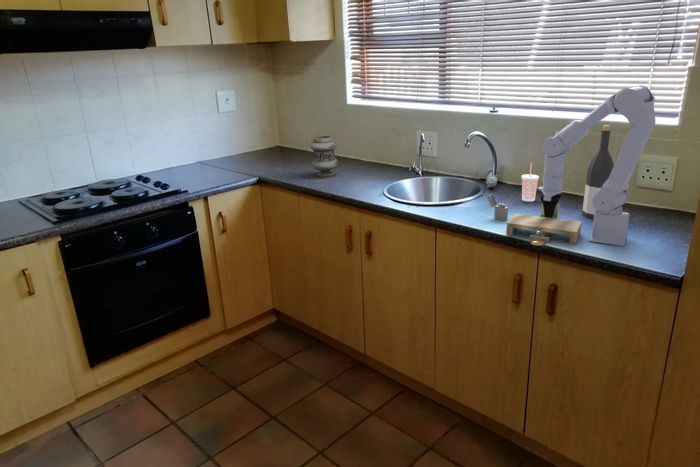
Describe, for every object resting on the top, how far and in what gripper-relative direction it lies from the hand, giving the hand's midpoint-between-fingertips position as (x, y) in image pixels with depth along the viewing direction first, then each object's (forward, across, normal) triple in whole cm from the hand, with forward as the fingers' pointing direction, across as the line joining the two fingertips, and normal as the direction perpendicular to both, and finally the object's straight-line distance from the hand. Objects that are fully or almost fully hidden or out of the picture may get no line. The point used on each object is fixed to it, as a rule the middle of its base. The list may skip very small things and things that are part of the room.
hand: (549, 216), depth 169 cm
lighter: (+3, -2, -17) cm, 17 cm away
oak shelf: (+3, +8, 0) cm, 9 cm away
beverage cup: (+3, -26, -12) cm, 29 cm away
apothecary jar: (+3, -30, -104) cm, 108 cm away
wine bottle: (+3, -16, +12) cm, 21 cm away
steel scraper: (+3, +7, 0) cm, 8 cm away
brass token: (+4, +16, 0) cm, 17 cm away
